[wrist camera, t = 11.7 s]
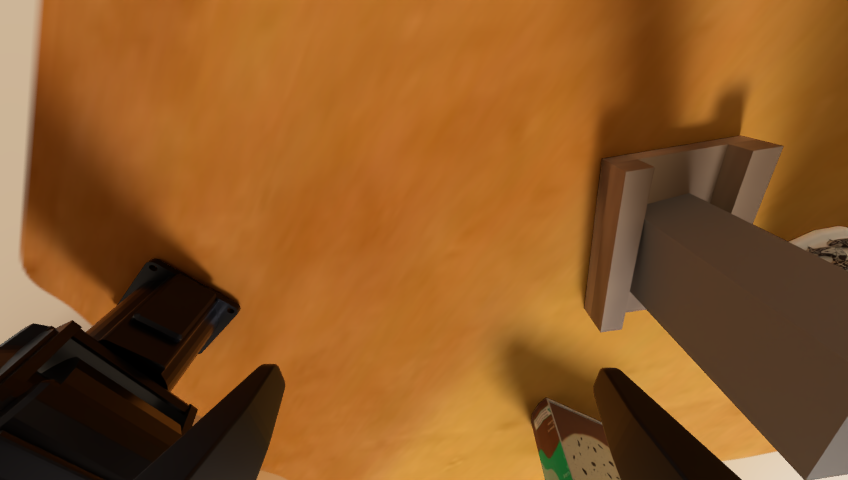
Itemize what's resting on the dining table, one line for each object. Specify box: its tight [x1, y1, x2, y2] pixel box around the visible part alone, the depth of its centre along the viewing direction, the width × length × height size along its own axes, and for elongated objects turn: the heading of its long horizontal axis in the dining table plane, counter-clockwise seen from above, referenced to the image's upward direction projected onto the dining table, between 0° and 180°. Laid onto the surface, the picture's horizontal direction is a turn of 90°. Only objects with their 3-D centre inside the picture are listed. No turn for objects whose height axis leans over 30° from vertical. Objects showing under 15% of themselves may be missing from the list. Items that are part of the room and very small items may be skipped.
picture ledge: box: [584, 136, 783, 332], centre depth 21 cm, size 8×12×2 cm, turn 9°
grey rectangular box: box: [630, 193, 848, 480], centre depth 16 cm, size 4×6×12 cm, turn 16°
